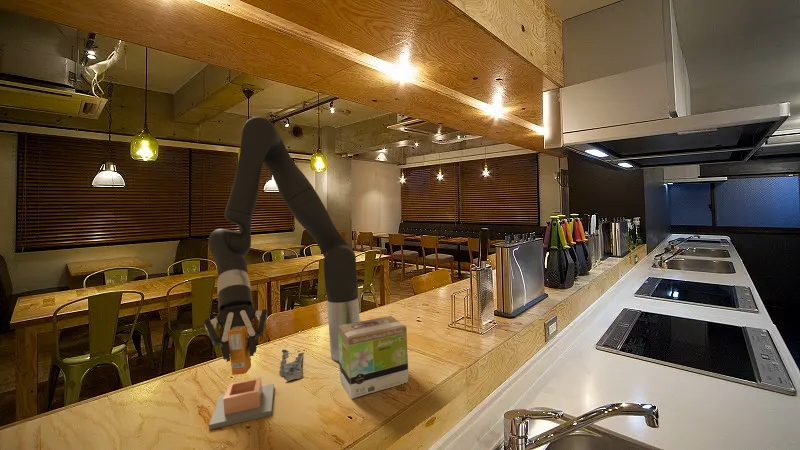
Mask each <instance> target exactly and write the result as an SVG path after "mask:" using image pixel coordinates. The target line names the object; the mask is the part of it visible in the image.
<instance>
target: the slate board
mask: <svg viewBox="0 0 800 450" xmlns="http://www.w3.org/2000/svg"><path fill="white" fill-rule="evenodd" d="M274 392H275V384H274V383H271V384H266V385H262V396H261V403H260V407H258V408H253V409H249V410H244V411H240V412H235V413H231V414H227V415H225V413H224V402H223V399H224V396H225V393H222V394H220V396H219V398H218V400H217V403H216V405H215V408H214V411H213V413H212V416H211V418H210V421H209V423H208V430H213V429H217V428H221V427H222V428H223V427H226V426H230V425H236V424H239V423H244V422H248V421H252V420H257V419H261V418H264V417H266V418H267V417H269V416H272V414H273V403H274V396H275V395H274V394H275V393H274Z"/></svg>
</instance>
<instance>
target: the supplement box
mask: <svg viewBox="0 0 800 450" xmlns="http://www.w3.org/2000/svg"><path fill="white" fill-rule="evenodd" d="M228 341H229V351H230V366H231V374H232V375H236V376H237V375H242V374H243V375H244V374H247V373H248V371H249V370H250V368H252V362H251V361H252V359H251V356H250V349H249V337H248V330H247V326H238V327H233V328H232V329H231V330H230V331H229V332H228Z"/></svg>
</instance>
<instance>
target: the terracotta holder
mask: <svg viewBox="0 0 800 450" xmlns="http://www.w3.org/2000/svg"><path fill="white" fill-rule="evenodd" d="M262 383H263V381H262V376H258V377H254V378H249V379H244V380H239V381H235V382H229V383H228V386H227V388H226V390H225V393H224V394H225V396H224V399H223V402H224V413H225V415H227V414H231V413H235V412H240V411H244V410H249V409H253V408H258V407H260V403H261V396H262V386H263V384H262Z"/></svg>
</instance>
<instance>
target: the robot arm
mask: <svg viewBox="0 0 800 450" xmlns="http://www.w3.org/2000/svg"><path fill="white" fill-rule="evenodd" d="M264 165H265V166H266V167H267V169H268V170H269V172H270V173H271V175H272V178H273V179H274V182H275V184H276V188H277V189H278V192H279V194H280V195H281V198H282V200H283V201H284V203H285V205H286V207H287V208H288V210H289V212H291V214H292V216H293V217H294V218H295V220H296V221H297V222H298V223H299V224H300V225H301V226H302V228H304V230H305V231H306V232H307V233H308V234H309V235H310V236H311V238H313V240H314V241H315V242H316V245H317V247H318V248H319V250H320V252H321V254H322V255H323V276H324V289H325V293H326V303H327V316H328V317H327V319H328V331H329V332H328V334H329V347H330V349H329V352H330V358H331V359H332V360H333V361H336V362H339V343H338V326H340V325H345V324H350V323H356V322H361V321H360V306H359V287H358V275H357V274H358V272H357V256H356V253H355V251H354V250H353V248H352V247H351V246H350V245H349V243H347V241H346V240H345V239H344V237H343V236H342V235H341V233H340V232H339V230H338V229H337V228H336V226H335V224H334V223H333V221H332V218H331V216H330V214H329V213H328V210H327V209H326V207H325V205H324V203H323V201H322V199H321V198H320V196H319V194H318V193H317V192H316V190H315V188H314V186H313V184H312V183H311V182H310V181H309V179H308V178H307V177H306V175H305V174H304V173H303V171H302V170H301V169H300V168H299V167H298V166H297V164H296V163H295V162H294V161H293V158H292V157H291V155H290V154H289V151H288V149H287V147H286V146H285V143H284V141H283V139H282V137H281V134H280V132H279V130H278V129H277V127H276V126H275V125H274V124H273V123H272V122H271V121H270V120H269V119H268V118H265V117H262V116H252V117H251V118H249V119H247V120H246V122H245V123H244V124H243V127H242V130H241V138H240V149H239V155H238V161H237V166H236V172H235V175H234V180H233V184H232V186H231V191H230V194H229V197H228V201H227V203H226V208H225V211H224V218H225V220H227V221H229V222H230V223H234V224H235V225H237V228H238V231H236V230H233V229H232V230H231V229H226V228H216V229H214V230H213V231H212V232H211V233H210V234H209V237H208V242H207V243H208V248H209V252H210V254H211V256H212V258H213V261H214V262H215V265H216V267H217V285H216V286H217V292H216V294H217V306H218V307H217V308H218V313H217V314H216V317H215V318H212V319H209V318H207V319H205V320H204V322H203V324H204V328H205V331H206V332H207V335H208V337H209V339H210V341H211V343H212V345H213V346H214V347H216V346H217V347H218V346H221V348H222V349H221V351H222V359H223V360H226V362H227V363H228V362H231V359H230V350H229V341H228V332H229V331H230V330H231V329H232V328H233V327H238V326H247V330H248V339H249V349H250V357H254V356H255V353H257V341H256V340H257V339H258V338H261V337H263V336H264V335H263V334H264V332H265V331H264V330H265V326H266V323H267V322H266V321H267V318H268V317H267V316H268V310H267V309H265V308H264V309H262V310H256V308H255V307H254V304H253V295H252V286H251V281H250V280H251V279H250V277H249V272H248V271H249V270H248V265H247V260H246V258H245V257H244V256H246V255H247V254H248V253H249V251H250V250H251V247H252V235H251V234H252V218H253V216H254V212H255V209H256V205H257V201H258V197H259V189H260V182H261V180H260V178H261V175H262V174H261V173H262V168H263V166H264ZM255 317H256V319H257V321H259V323H258V327H257V328H256V329H254V328H253V324H252V321H253V320H254V318H255ZM217 324H219V325H220V326H222V328H224V329H223V334H222V336H221V337H220V336H218V334H217V332H216V328H217Z"/></svg>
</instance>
